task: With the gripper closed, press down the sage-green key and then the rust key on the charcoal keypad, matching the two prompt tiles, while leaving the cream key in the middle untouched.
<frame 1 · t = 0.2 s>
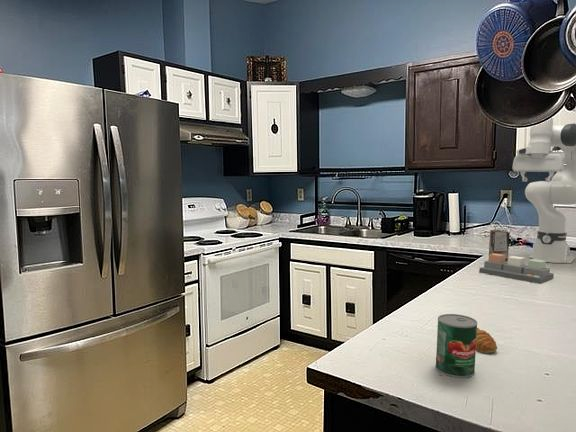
hand: (535, 181, 193), 39 cm above the counter, tool pointing down, fingers open, 8 cm apart
canned tomato: (454, 370, 93), on the counter
pastry: (479, 347, 106), on the counter
keypad base: (515, 275, 180), on the counter
key sage: (537, 264, 173), point 6 cm above the counter, slide at 0.0 cm
coffee box: (497, 265, 200), on the counter
key cream: (516, 261, 179), point 6 cm above the counter, slide at 0.0 cm
key rust: (496, 258, 185), point 6 cm above the counter, slide at 0.0 cm
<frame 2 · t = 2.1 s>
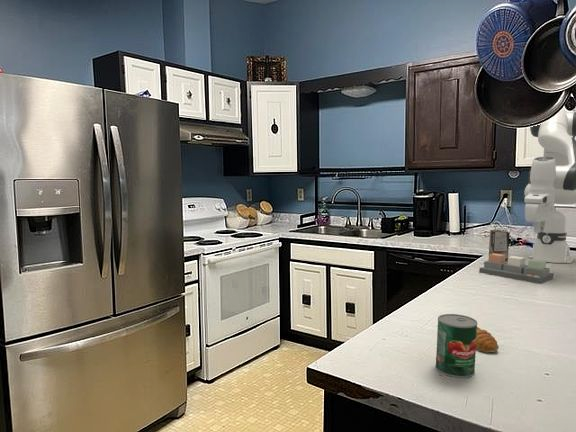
hand: (539, 232, 172), 19 cm above the counter, tool pointing down, fingers open, 3 cm apart
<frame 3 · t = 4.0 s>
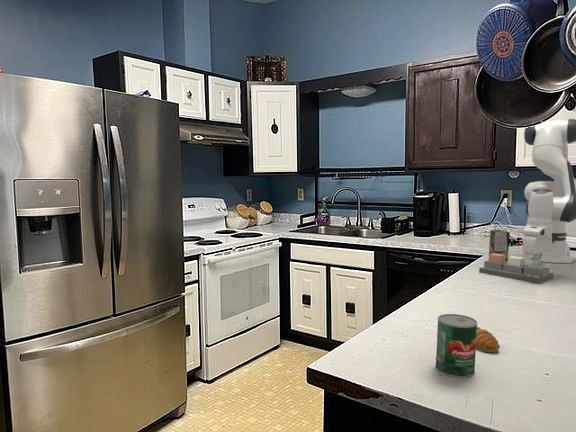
hand: (536, 263, 173), 6 cm above the counter, tool pointing down, fingers closed, pressing on key sage
key sage: (536, 267, 173), point 5 cm above the counter, slide at 1.2 cm, touching gripper
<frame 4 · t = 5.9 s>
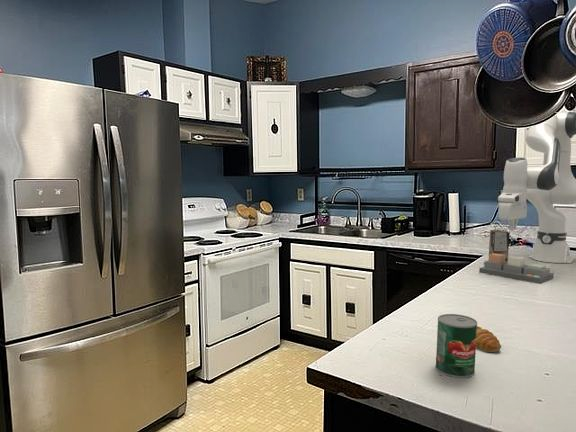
hand: (512, 229, 180), 19 cm above the counter, tool pointing down, fingers closed
key sage: (536, 269, 173), point 4 cm above the counter, slide at 2.0 cm
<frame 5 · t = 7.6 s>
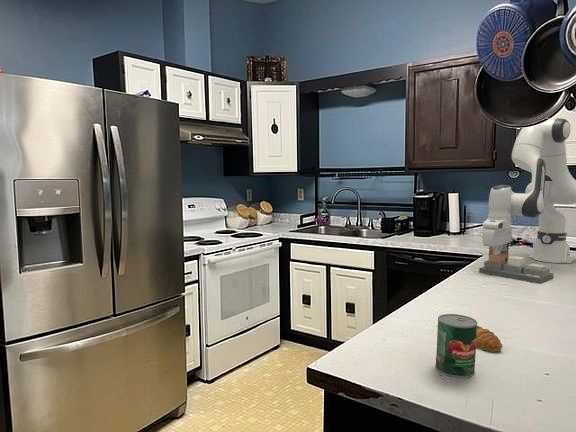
hand: (496, 254, 185), 8 cm above the counter, tool pointing down, fingers closed, pressing on key rust
key rust: (496, 258, 185), point 6 cm above the counter, slide at 0.1 cm, touching gripper
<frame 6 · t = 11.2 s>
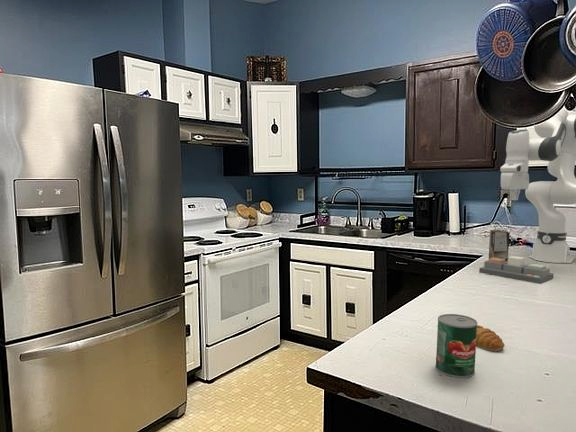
hand: (514, 200, 185), 31 cm above the counter, tool pointing down, fingers closed
key rust: (496, 263, 186), point 4 cm above the counter, slide at 2.0 cm
at the end: key sage slide at 2.0 cm; key rust slide at 2.0 cm; key cream slide at 0.0 cm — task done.
